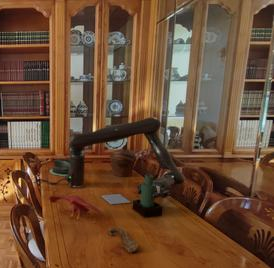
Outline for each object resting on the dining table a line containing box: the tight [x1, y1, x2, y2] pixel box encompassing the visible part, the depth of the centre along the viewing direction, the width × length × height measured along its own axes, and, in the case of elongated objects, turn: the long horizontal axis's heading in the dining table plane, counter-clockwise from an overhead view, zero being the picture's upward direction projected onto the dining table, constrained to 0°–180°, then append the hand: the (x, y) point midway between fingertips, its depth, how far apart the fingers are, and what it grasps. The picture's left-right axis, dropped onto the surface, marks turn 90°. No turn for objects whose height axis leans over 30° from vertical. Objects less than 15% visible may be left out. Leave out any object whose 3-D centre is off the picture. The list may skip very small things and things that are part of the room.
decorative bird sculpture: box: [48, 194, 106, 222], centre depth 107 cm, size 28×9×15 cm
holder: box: [132, 198, 163, 219], centre depth 111 cm, size 9×9×4 cm
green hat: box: [48, 158, 69, 177], centre depth 174 cm, size 15×19×20 cm
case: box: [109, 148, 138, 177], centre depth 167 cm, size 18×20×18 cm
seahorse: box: [108, 227, 139, 254], centre depth 89 cm, size 6×15×2 cm, turn 11°
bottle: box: [140, 174, 156, 208], centre depth 110 cm, size 6×6×18 cm
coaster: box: [101, 193, 131, 206], centre depth 126 cm, size 11×11×1 cm
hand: (145, 194), depth 109 cm, fingers closed on bottle, 6 cm apart
